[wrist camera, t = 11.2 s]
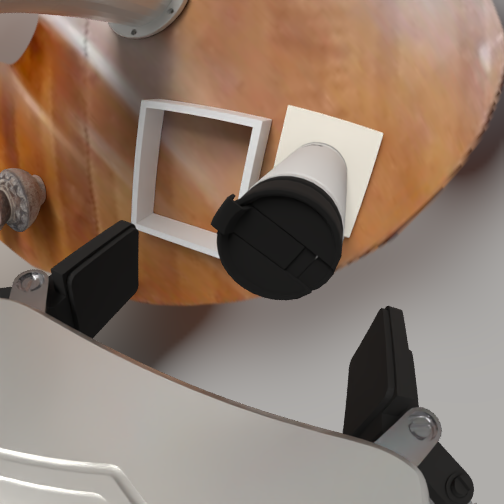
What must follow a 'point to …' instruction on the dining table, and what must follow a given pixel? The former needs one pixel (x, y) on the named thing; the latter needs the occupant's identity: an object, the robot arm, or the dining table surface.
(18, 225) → the pottery
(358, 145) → the pad
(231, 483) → the robot arm
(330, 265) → the travel mug
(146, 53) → the dining table surface
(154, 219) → the bin
